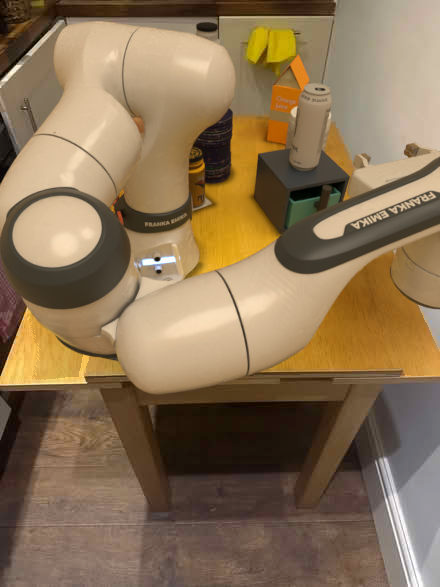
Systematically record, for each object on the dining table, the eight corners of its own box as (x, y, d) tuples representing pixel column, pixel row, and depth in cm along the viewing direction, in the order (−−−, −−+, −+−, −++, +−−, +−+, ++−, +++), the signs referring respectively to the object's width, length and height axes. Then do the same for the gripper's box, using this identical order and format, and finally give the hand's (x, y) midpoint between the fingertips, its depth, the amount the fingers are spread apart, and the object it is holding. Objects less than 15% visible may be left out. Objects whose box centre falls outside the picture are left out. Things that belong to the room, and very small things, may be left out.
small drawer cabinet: (337, 220, 89) (350, 176, 81) (279, 233, 86) (287, 188, 78) (306, 186, 98) (315, 143, 90) (253, 197, 95) (258, 153, 87)
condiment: (212, 204, 92) (213, 155, 84) (179, 216, 89) (176, 166, 80) (195, 188, 97) (194, 140, 88) (164, 199, 93) (159, 150, 84)
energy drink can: (289, 156, 86) (301, 80, 75) (317, 158, 86) (334, 83, 75) (287, 170, 82) (300, 93, 71) (317, 173, 82) (334, 96, 70)
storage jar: (191, 162, 105) (189, 103, 94) (229, 162, 105) (232, 103, 94) (191, 184, 98) (188, 122, 87) (231, 183, 98) (234, 123, 87)
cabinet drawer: (341, 227, 86) (354, 185, 78) (294, 238, 83) (303, 195, 76) (305, 187, 96) (313, 145, 88) (262, 195, 93) (267, 153, 86)
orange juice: (300, 132, 117) (313, 55, 103) (293, 145, 112) (306, 66, 97) (274, 127, 119) (283, 51, 104) (265, 140, 113) (274, 62, 99)
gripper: (377, 239, 53) (321, 183, 62) (494, 206, 59) (427, 160, 67) (394, 198, 48) (330, 144, 57) (518, 166, 54) (443, 122, 63)
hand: (383, 152), depth 62 cm, fingers open, 8 cm apart
